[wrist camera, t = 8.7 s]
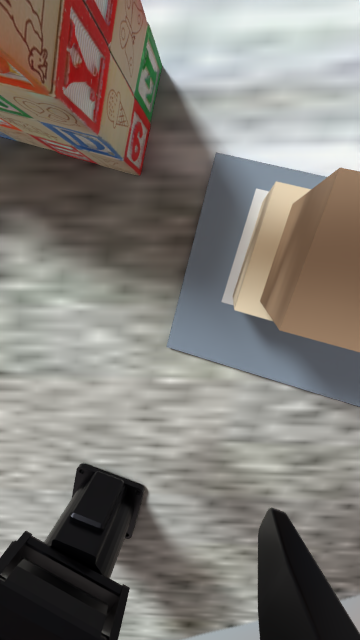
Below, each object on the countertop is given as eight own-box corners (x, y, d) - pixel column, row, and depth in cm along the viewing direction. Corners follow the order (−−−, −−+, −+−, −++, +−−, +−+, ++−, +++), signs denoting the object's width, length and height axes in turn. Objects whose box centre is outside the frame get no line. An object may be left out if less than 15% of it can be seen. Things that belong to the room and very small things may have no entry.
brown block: (354, 326, 12) (437, 373, 7) (259, 301, 13) (279, 330, 8) (399, 227, 11) (536, 206, 6) (292, 203, 11) (339, 167, 6)
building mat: (371, 407, 18) (374, 411, 17) (167, 345, 19) (166, 347, 19) (479, 213, 14) (487, 212, 14) (216, 154, 16) (216, 152, 15)
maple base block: (322, 321, 17) (356, 345, 12) (232, 296, 17) (234, 310, 13) (364, 225, 15) (420, 213, 11) (262, 201, 15) (276, 181, 11)
